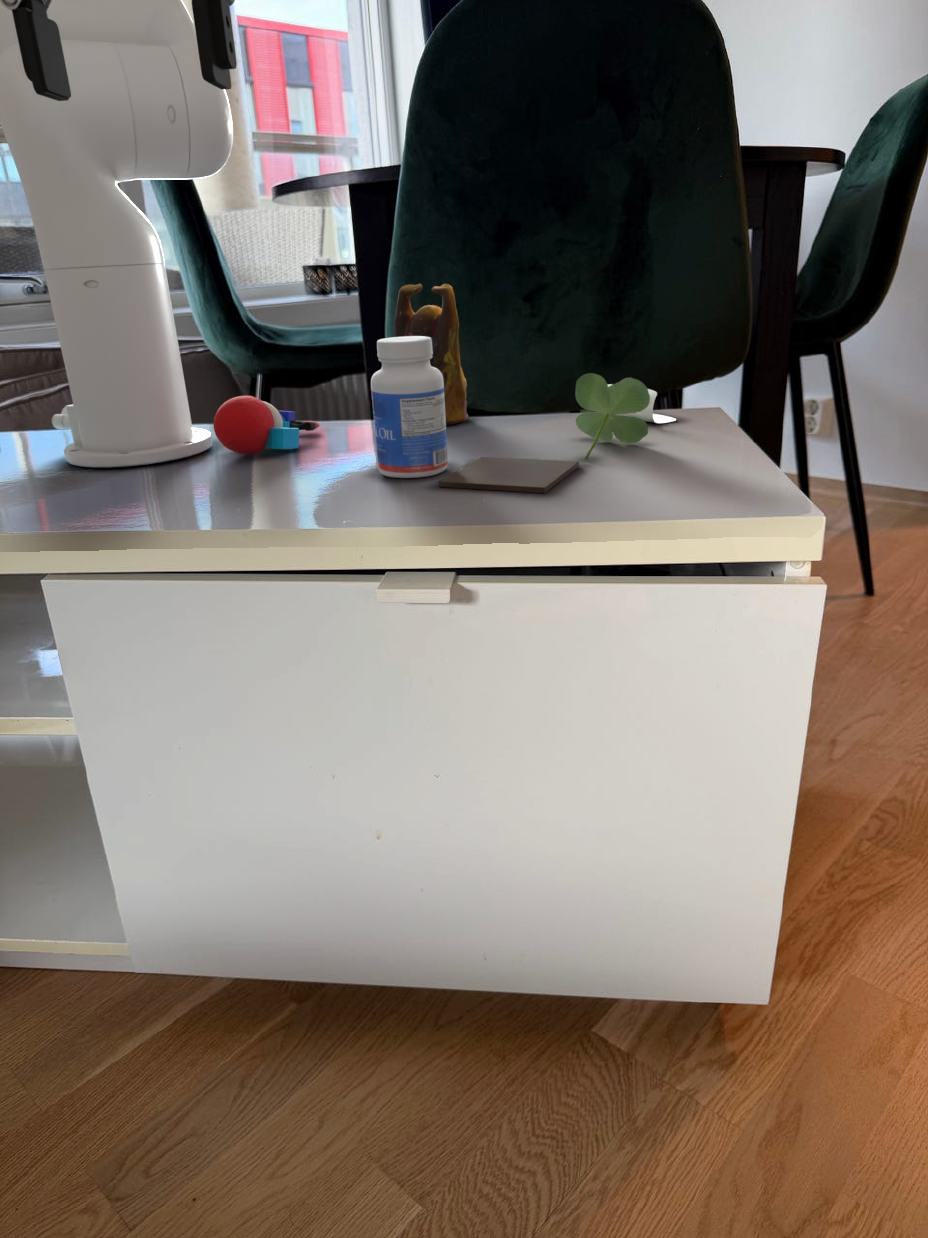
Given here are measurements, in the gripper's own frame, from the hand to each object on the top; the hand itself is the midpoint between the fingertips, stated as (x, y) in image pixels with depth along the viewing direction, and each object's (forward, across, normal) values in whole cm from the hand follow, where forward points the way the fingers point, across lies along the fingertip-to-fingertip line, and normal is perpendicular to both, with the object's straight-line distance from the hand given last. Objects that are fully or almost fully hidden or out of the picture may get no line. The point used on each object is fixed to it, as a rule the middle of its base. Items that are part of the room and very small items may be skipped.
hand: (135, 91), depth 50 cm
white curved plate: (+25, -32, -29) cm, 50 cm away
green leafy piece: (+25, -27, -16) cm, 40 cm away
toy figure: (+25, +2, -22) cm, 33 cm away
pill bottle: (+25, -13, -10) cm, 30 cm away
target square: (+25, -21, -7) cm, 33 cm away
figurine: (+25, -13, -31) cm, 42 cm away
